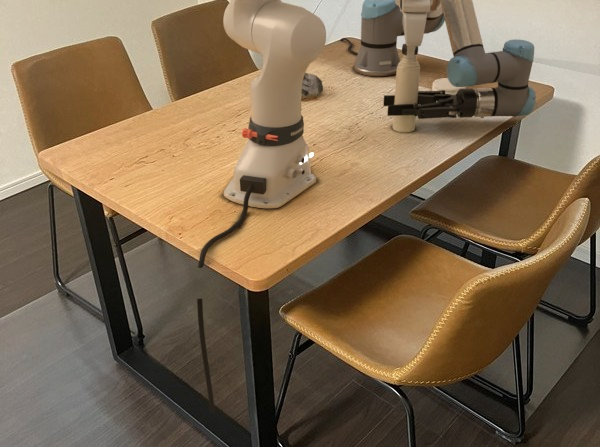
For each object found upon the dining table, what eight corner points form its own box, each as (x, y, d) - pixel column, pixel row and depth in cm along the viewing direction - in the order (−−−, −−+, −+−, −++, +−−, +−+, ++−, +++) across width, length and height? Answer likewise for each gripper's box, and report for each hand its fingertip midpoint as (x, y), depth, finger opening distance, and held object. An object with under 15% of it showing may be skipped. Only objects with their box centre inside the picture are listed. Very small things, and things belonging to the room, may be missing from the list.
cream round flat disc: (427, 89, 189) (428, 78, 188) (459, 87, 190) (460, 76, 188) (437, 101, 181) (438, 89, 179) (470, 99, 182) (471, 88, 180)
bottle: (396, 122, 169) (402, 42, 157) (417, 125, 167) (425, 45, 155) (389, 130, 165) (395, 48, 153) (410, 133, 162) (418, 51, 151)
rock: (327, 94, 187) (327, 70, 183) (303, 102, 181) (302, 79, 177) (294, 83, 196) (293, 61, 192) (270, 91, 190) (268, 68, 186)
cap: (404, 50, 157) (405, 42, 156) (419, 52, 156) (420, 44, 155) (399, 54, 154) (400, 46, 153) (415, 56, 153) (415, 48, 152)
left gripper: (399, -13, 157) (395, 41, 164) (402, 6, 139) (398, 66, 147) (424, -13, 156) (419, 42, 163) (431, 6, 139) (425, 67, 146)
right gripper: (482, 130, 157) (391, 133, 156) (462, 103, 173) (379, 105, 172) (486, 102, 153) (393, 105, 152) (465, 76, 169) (381, 79, 168)
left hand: (409, 54), depth 155 cm, fingers closed on cap, 4 cm apart
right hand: (386, 105), depth 162 cm, fingers closed on bottle, 6 cm apart
